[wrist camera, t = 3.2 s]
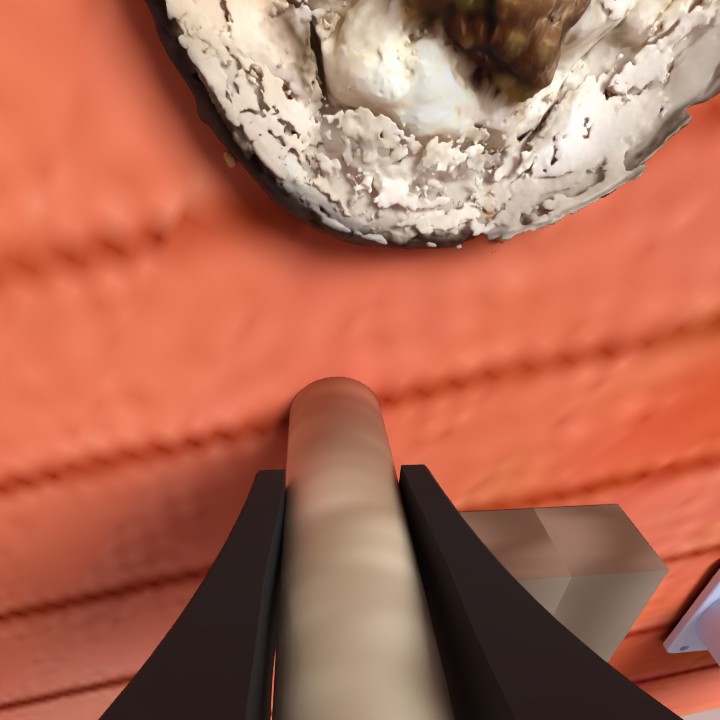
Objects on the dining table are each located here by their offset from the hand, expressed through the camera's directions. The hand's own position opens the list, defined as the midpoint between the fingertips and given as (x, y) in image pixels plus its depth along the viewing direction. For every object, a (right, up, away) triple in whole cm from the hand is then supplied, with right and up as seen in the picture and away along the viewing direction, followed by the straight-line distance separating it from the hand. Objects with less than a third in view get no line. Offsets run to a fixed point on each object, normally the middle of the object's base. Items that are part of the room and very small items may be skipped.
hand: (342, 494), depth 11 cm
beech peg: (0, +2, +3) cm, 3 cm away
